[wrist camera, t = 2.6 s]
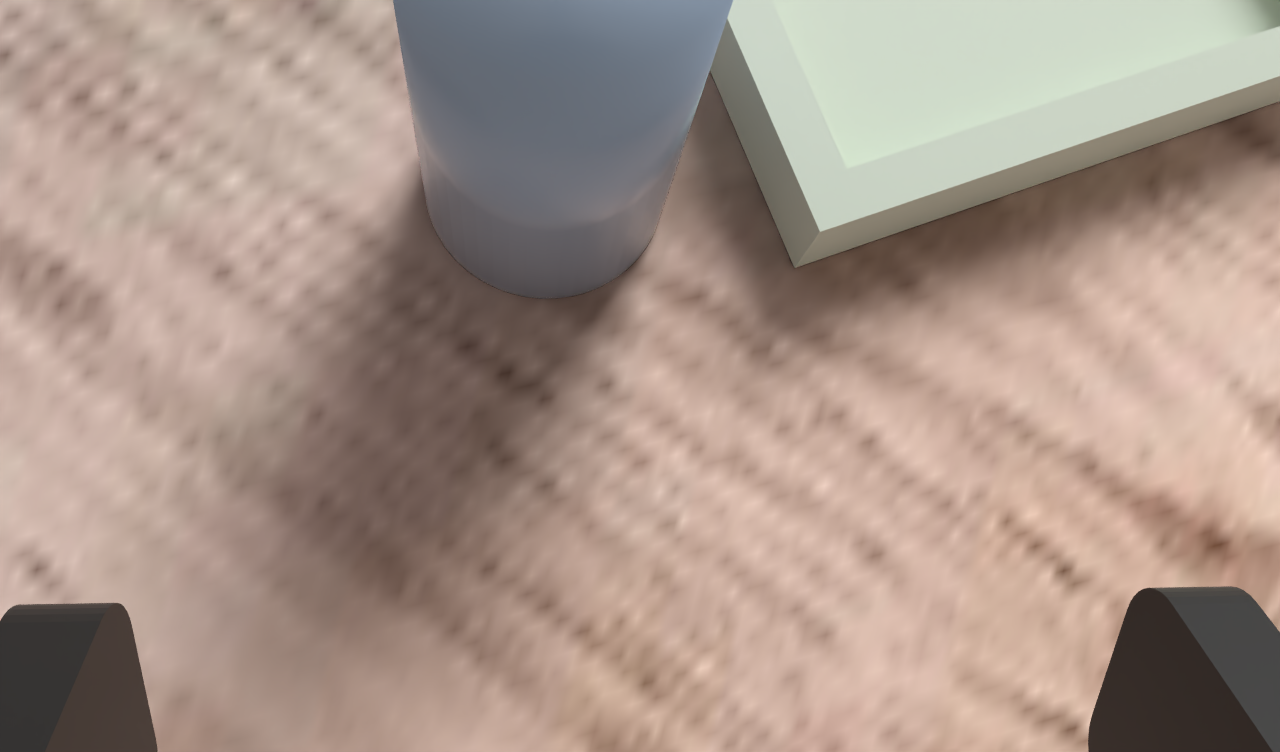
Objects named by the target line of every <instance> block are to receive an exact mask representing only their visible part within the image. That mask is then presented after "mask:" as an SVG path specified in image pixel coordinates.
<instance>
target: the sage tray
mask: <svg viewBox="0 0 1280 752" xmlns="http://www.w3.org/2000/svg"><path fill="white" fill-rule="evenodd" d="M710 72H711V74H712V76H713V79H714V81H715V83H716V86H717V88H718V90H719V93H720V95H721V97H722V100H723V102H724V104H725V107H726V109H727V111H728V114H729V116H730V118H731V121H732V123H733V125H734V128H735V130H736V132H737V135H738V137H739V139H740V142H741V144H742V146H743V149H744V151H745V153H746V156H747V158H748V160H749V163H750V165H751V167H752V170H753V172H754V175H755V177H756V179H757V182H758V184H759V186H760V189H761V191H762V193H763V196H764V198H765V200H766V203H767V205H768V207H769V210H770V212H771V214H772V217H773V219H774V221H775V224H776V226H777V228H778V231H779V233H780V235H781V238H782V240H783V242H784V245H785V247H786V249H787V252H788V254H789V256H790V259H791V261H792V263H793V266H794V268H796V267H799V266H802V265H805V264H808V263H811V262H814V261H817V260H820V259H822V258H825V257H828V256H831V255H834V254H837V253H840V252H843V251H846V250H849V249H852V248H854V247H857V246H860V245H863V244H866V243H869V242H872V241H875V240H878V239H881V238H884V237H886V236H889V235H892V234H895V233H898V232H901V231H904V230H907V229H910V228H913V227H916V226H918V225H921V224H924V223H927V222H930V221H933V220H936V219H939V218H942V217H945V216H948V215H950V214H953V213H956V212H959V211H962V210H965V209H968V208H971V207H974V206H977V205H980V204H982V203H985V202H988V201H991V200H994V199H997V198H1000V197H1003V196H1006V195H1009V194H1012V193H1014V192H1017V191H1020V190H1023V189H1026V188H1029V187H1032V186H1035V185H1038V184H1041V183H1044V182H1046V181H1049V180H1052V179H1055V178H1058V177H1061V176H1064V175H1067V174H1070V173H1073V172H1076V171H1078V170H1081V169H1084V168H1087V167H1090V166H1093V165H1096V164H1099V163H1102V162H1105V161H1108V160H1110V159H1113V158H1116V157H1119V156H1122V155H1125V154H1128V153H1131V152H1134V151H1137V150H1140V149H1142V148H1145V147H1148V146H1151V145H1154V144H1157V143H1160V142H1163V141H1166V140H1169V139H1172V138H1174V137H1177V136H1180V135H1183V134H1186V133H1189V132H1192V131H1195V130H1198V129H1201V128H1204V127H1206V126H1209V125H1212V124H1215V123H1218V122H1221V121H1224V120H1227V119H1230V118H1233V117H1236V116H1238V115H1241V114H1244V113H1247V112H1250V111H1253V110H1256V109H1259V108H1262V107H1265V106H1268V105H1270V104H1273V103H1276V102H1279V101H1280V0H733V2H732V5H731V8H730V11H729V14H728V17H727V20H726V23H725V26H724V29H723V32H722V35H721V38H720V41H719V44H718V47H717V50H716V53H715V56H714V59H713V62H712V65H711V68H710Z"/></svg>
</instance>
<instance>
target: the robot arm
mask: <svg viewBox="0 0 1280 752" xmlns="http://www.w3.org/2000/svg"><path fill="white" fill-rule="evenodd" d="M1088 747H1089V752H1280V632H1279V631H1278V630H1277V628H1276V627H1275V626H1274V624H1273V623H1272V622H1271V621H1270V619H1269V618H1268V617H1267V615H1266V614H1265V613H1264V611H1263V610H1262V609H1261V608H1260V606H1259V605H1258V604H1257V602H1256V601H1255V600H1254V599H1253V598H1252V597H1251V596H1250V595H1249V594H1248V593H1246V592H1245V591H1244V590H1242V589H1239V588H1237V587H1175V588H1146V589H1143V590H1141V591H1139V592H1138V593H1137V594H1136V595H1135V596H1134V597H1133V599H1132V600H1131V602H1130V604H1129V607H1128V609H1127V612H1126V615H1125V618H1124V621H1123V624H1122V627H1121V630H1120V633H1119V636H1118V639H1117V642H1116V645H1115V648H1114V651H1113V654H1112V657H1111V660H1110V663H1109V666H1108V669H1107V672H1106V675H1105V678H1104V681H1103V684H1102V687H1101V690H1100V693H1099V696H1098V699H1097V702H1096V705H1095V708H1094V711H1093V714H1092V718H1091V722H1090V727H1089V738H1088ZM0 752H157V744H156V738H155V733H154V728H153V724H152V719H151V714H150V710H149V705H148V700H147V695H146V691H145V686H144V681H143V677H142V672H141V667H140V662H139V658H138V653H137V648H136V644H135V639H134V634H133V629H132V625H131V621H130V618H129V615H128V613H127V611H126V609H125V608H124V606H122V605H121V604H119V603H89V604H32V605H16V606H13V607H12V608H10V609H9V610H8V611H7V612H6V613H5V615H4V616H3V617H2V619H1V621H0Z"/></svg>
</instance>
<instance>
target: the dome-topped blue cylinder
mask: <svg viewBox="0 0 1280 752" xmlns="http://www.w3.org/2000/svg"><path fill="white" fill-rule="evenodd" d="M732 2H733V0H393V3H394V9H395V15H396V21H397V27H398V33H399V39H400V45H401V52H402V58H403V64H404V70H405V76H406V82H407V88H408V94H409V101H410V107H411V113H412V119H413V125H414V131H415V137H416V143H417V150H418V156H419V162H420V168H421V174H422V180H423V186H424V192H425V198H426V205H427V209H428V212H429V216H430V219H431V222H432V224H433V226H434V229H435V231H436V233H437V235H438V237H439V238H440V240H441V242H442V243H443V245H444V246H445V248H446V249H447V250H448V252H449V253H450V254H451V255H452V256H453V258H454V259H455V260H456V261H457V262H458V263H459V264H460V265H462V266H463V267H464V268H465V269H466V270H467V271H468V272H470V273H471V274H473V275H474V276H475V277H477V278H478V279H480V280H481V281H483V282H485V283H487V284H489V285H491V286H493V287H495V288H497V289H500V290H503V291H505V292H508V293H512V294H516V295H520V296H524V297H532V298H563V297H570V296H575V295H579V294H582V293H586V292H589V291H591V290H594V289H596V288H599V287H601V286H603V285H605V284H607V283H608V282H610V281H612V280H614V279H615V278H617V277H618V276H619V275H620V274H622V273H623V272H624V271H626V270H627V269H628V268H629V267H630V266H631V265H632V264H633V263H634V262H635V261H636V260H637V259H638V258H639V256H640V255H641V254H642V253H643V251H644V250H645V249H646V247H647V246H648V244H649V242H650V240H651V238H652V237H653V235H654V232H655V230H656V227H657V225H658V222H659V219H660V216H661V213H662V210H663V208H664V205H665V202H666V199H667V196H668V193H669V190H670V187H671V184H672V181H673V178H674V175H675V172H676V169H677V166H678V163H679V160H680V157H681V154H682V151H683V148H684V145H685V142H686V139H687V136H688V133H689V130H690V127H691V124H692V121H693V118H694V115H695V112H696V109H697V106H698V103H699V100H700V98H701V95H702V92H703V89H704V86H705V83H706V80H707V77H708V74H709V71H710V68H711V65H712V62H713V59H714V56H715V53H716V50H717V47H718V44H719V41H720V38H721V35H722V32H723V29H724V26H725V23H726V20H727V17H728V14H729V11H730V8H731V5H732Z"/></svg>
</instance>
